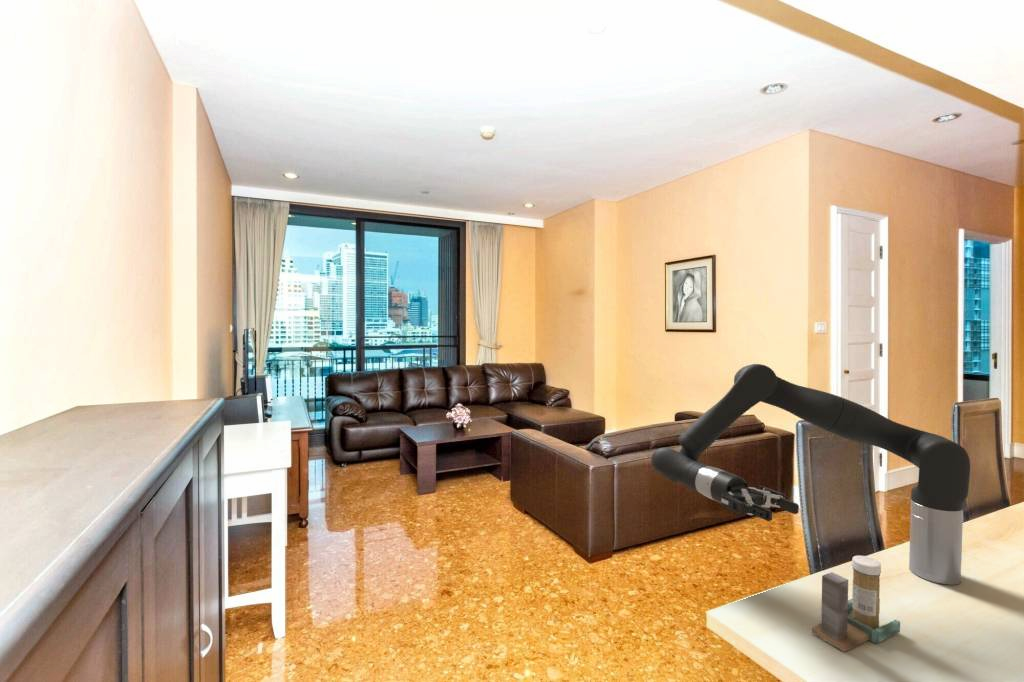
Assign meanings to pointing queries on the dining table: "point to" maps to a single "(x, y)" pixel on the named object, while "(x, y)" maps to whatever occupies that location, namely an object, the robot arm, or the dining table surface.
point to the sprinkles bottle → (866, 590)
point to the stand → (845, 618)
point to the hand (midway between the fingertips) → (784, 513)
